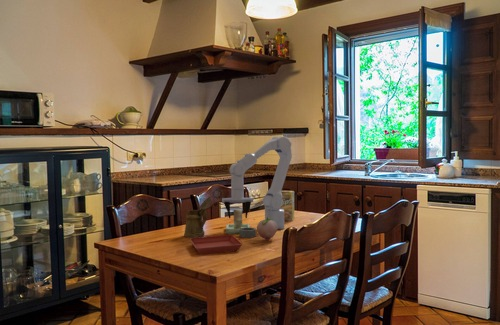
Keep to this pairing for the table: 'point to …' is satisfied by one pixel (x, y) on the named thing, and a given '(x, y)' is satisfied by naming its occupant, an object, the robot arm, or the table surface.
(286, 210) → the candy box
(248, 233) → the octagonal ring
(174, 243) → the table surface
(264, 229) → the decorative fruit
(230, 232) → the tray
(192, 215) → the brown wooden container
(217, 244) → the plant saucer
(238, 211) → the dowel
